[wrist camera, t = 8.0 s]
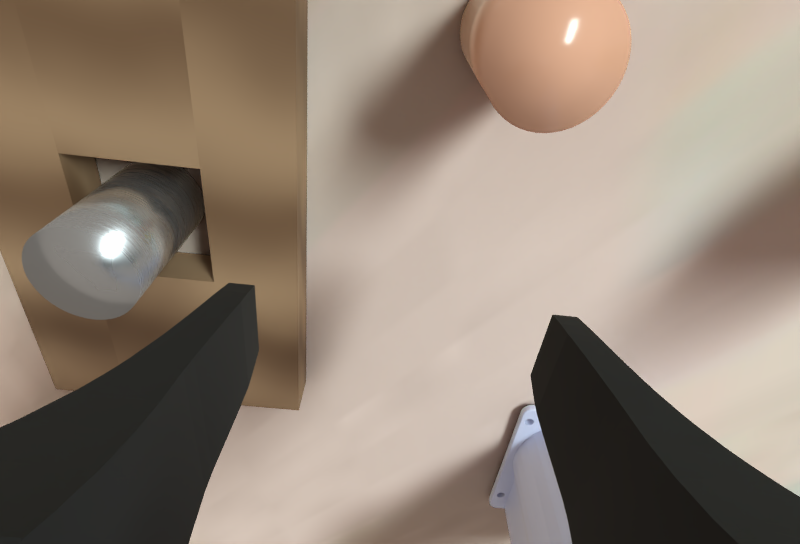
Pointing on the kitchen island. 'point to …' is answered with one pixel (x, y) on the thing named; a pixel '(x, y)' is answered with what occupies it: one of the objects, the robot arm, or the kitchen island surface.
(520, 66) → the terracotta pin
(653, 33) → the kitchen island surface
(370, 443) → the kitchen island surface
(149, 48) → the wooden board with hole
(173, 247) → the steel pin
